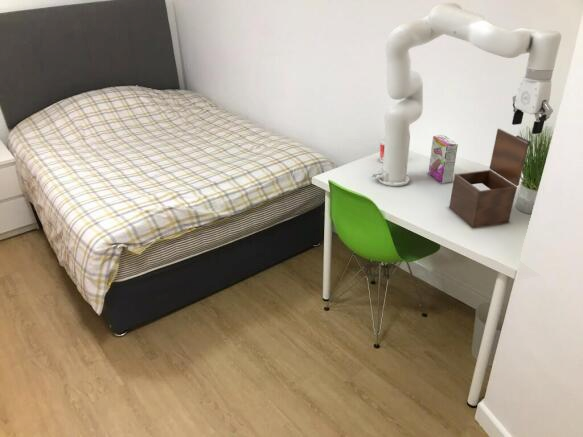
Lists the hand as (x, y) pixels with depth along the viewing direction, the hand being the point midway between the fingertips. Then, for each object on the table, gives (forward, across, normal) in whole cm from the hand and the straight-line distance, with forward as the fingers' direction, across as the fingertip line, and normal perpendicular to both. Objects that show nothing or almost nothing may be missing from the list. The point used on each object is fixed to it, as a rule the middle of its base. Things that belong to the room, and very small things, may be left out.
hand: (526, 128), depth 150 cm
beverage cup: (+30, -55, -23) cm, 67 cm away
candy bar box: (+30, -32, -9) cm, 45 cm away
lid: (+9, 0, -5) cm, 10 cm away
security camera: (+30, -1, -13) cm, 32 cm away
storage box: (+30, 0, -12) cm, 32 cm away
